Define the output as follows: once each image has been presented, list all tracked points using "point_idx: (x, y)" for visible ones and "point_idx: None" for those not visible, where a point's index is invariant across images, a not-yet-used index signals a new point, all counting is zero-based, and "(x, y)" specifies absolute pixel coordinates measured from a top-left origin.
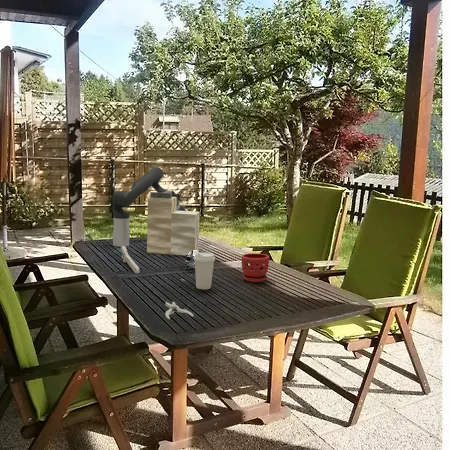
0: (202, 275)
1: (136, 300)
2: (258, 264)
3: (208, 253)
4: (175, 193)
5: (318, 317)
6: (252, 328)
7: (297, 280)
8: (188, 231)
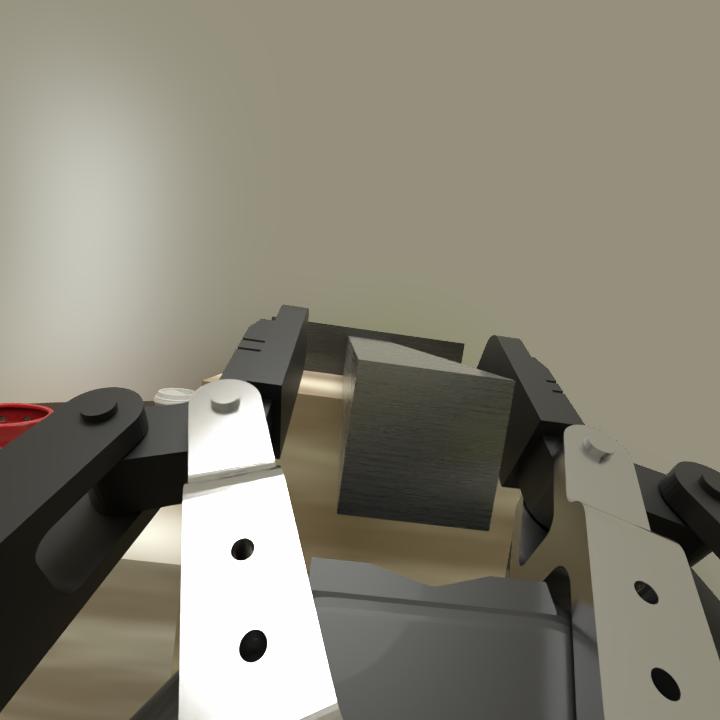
0: None
1: None
2: (24, 416)
3: (166, 393)
4: (199, 398)
5: (45, 404)
6: (154, 402)
7: None
8: None
